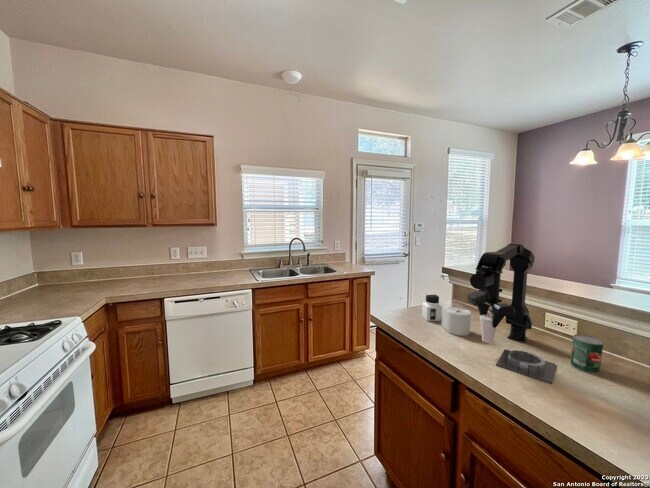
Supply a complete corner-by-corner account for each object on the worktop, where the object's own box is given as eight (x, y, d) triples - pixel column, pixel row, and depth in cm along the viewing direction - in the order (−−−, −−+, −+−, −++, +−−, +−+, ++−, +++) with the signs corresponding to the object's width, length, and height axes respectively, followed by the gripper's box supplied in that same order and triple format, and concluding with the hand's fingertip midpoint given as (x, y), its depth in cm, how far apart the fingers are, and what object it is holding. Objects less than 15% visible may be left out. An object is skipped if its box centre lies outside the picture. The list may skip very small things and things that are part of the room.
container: (441, 321, 142) (442, 297, 141) (426, 321, 142) (427, 297, 141) (435, 315, 150) (436, 293, 149) (421, 315, 150) (422, 292, 149)
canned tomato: (571, 359, 104) (573, 332, 103) (600, 368, 99) (603, 339, 98) (569, 367, 99) (572, 338, 98) (600, 376, 93) (603, 346, 92)
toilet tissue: (471, 337, 123) (473, 316, 122) (443, 333, 127) (444, 313, 126) (467, 328, 133) (468, 308, 132) (441, 325, 137) (442, 306, 136)
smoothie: (497, 346, 103) (499, 310, 101) (478, 342, 106) (480, 307, 105) (496, 339, 108) (498, 305, 107) (478, 336, 112) (480, 303, 110)
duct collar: (504, 350, 112) (505, 343, 111) (555, 364, 101) (556, 357, 100) (495, 365, 100) (496, 357, 100) (551, 384, 89) (552, 375, 89)
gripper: (457, 279, 114) (455, 315, 115) (487, 292, 95) (484, 335, 97) (483, 279, 114) (480, 315, 116) (517, 291, 96) (514, 334, 97)
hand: (488, 323), depth 106 cm, fingers closed on smoothie, 6 cm apart
